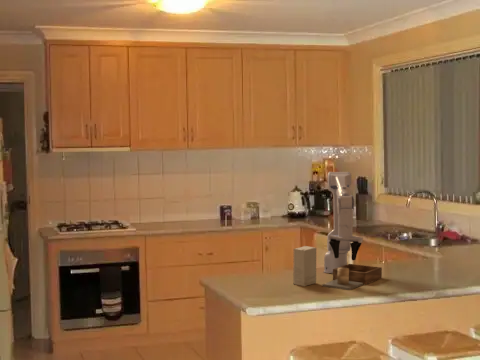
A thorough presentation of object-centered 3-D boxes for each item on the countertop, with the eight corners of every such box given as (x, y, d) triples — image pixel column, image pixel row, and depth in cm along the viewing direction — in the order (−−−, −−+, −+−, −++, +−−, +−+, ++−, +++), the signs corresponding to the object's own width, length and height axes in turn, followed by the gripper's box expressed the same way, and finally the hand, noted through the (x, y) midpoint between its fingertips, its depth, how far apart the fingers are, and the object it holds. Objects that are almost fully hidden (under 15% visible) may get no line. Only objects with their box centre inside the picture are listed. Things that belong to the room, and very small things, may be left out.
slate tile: (322, 286, 292) (322, 284, 292) (336, 281, 302) (336, 279, 302) (349, 290, 285) (349, 287, 285) (363, 284, 295) (363, 282, 295)
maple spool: (335, 283, 293) (335, 268, 292) (340, 281, 296) (340, 267, 296) (345, 285, 290) (346, 270, 290) (350, 283, 294) (350, 268, 294)
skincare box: (305, 281, 302) (305, 245, 301) (317, 283, 298) (317, 247, 297) (292, 284, 296) (292, 248, 295) (304, 286, 292) (304, 249, 291)
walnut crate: (332, 279, 304) (332, 269, 304) (349, 274, 317) (349, 263, 316) (365, 284, 296) (366, 273, 295) (381, 278, 308) (381, 267, 308)
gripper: (324, 225, 295) (324, 258, 296) (357, 227, 287) (356, 262, 288) (332, 223, 301) (332, 256, 302) (365, 225, 292) (364, 259, 293)
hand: (345, 259), depth 295 cm, fingers open, 7 cm apart
